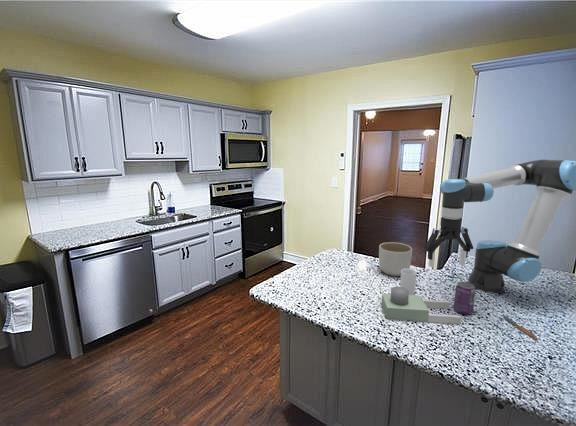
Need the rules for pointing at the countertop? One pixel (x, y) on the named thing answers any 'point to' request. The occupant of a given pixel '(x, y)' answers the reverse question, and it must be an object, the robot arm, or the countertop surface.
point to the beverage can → (464, 298)
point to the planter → (394, 257)
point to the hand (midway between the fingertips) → (446, 265)
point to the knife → (521, 329)
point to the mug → (408, 280)
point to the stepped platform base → (414, 307)
